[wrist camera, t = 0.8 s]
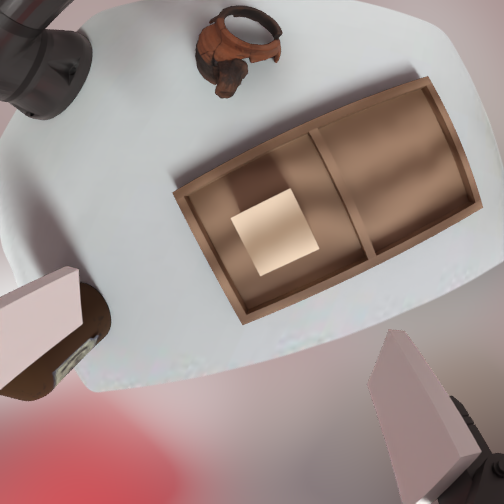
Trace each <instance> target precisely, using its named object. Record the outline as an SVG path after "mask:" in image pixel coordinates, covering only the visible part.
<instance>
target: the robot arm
mask: <svg viewBox="0 0 504 504" xmlns="http://www.w3.org/2000/svg"><path fill="white" fill-rule="evenodd" d="M73 1H74V0H0V101H4V102H9V103H10V104H12V105H13V106H14V107H16V108H17V109H18V110H20V111H21V112H22V113H24V114H25V115H26V116H28V117H30V118H33V119H39V120H48V119H51V118H54V117H55V116H57V115H59V114H60V113H61V112H63V111H64V110H65V109H66V108H67V107H68V106H69V105H70V104H71V102H72V101H73V100H74V99H75V97H76V96H77V94H78V93H79V91H80V90H81V88H82V86H83V84H84V82H85V80H86V78H87V75H88V72H89V69H90V66H91V61H92V48H91V44H90V42H89V41H88V39H87V38H85V37H84V36H82V35H81V34H79V33H77V32H74V31H65V30H50V29H49V30H48V29H45V28H46V27H47V26H48V25H49V24H50V23H51V22H52V21H53V20H54V19H55V18H56V17H57V16H58V15H59V14H60V13H61V12H62V11H63V10H64V9H65V8H66V7H67V6H68V5H69V4H70V3H72V2H73ZM82 324H83V321H82V311H81V300H80V286H79V269H76V268H73V267H69V266H65V267H63V268H61V269H59V270H56V271H54V272H52V273H50V274H47V275H45V276H43V277H41V278H39V279H37V280H34V281H32V282H30V283H28V284H26V285H24V286H22V287H20V288H18V289H16V290H14V291H12V292H9V293H8V294H5V295H3V296H1V297H0V390H1V389H2V388H3V387H4V386H5V385H7V384H8V383H9V382H10V381H11V380H13V379H14V378H15V377H16V376H17V375H19V374H20V373H21V372H22V371H23V370H25V369H26V368H27V367H28V366H30V365H31V364H32V363H33V362H35V361H36V360H37V359H38V358H40V357H41V356H42V355H43V354H45V353H46V352H47V351H48V350H50V349H51V348H52V347H53V346H55V345H56V344H57V343H59V342H60V341H61V340H62V339H64V338H65V337H66V336H68V335H69V334H70V333H72V332H73V331H74V330H75V329H77V328H78V327H79V326H81V325H82ZM367 386H368V389H369V392H370V395H371V398H372V401H373V404H374V407H375V410H376V413H377V416H378V419H379V423H380V426H381V429H382V432H383V436H384V439H385V442H386V446H387V449H388V453H389V456H390V459H391V463H392V467H393V470H394V474H395V478H396V482H397V485H398V489H399V493H400V497H401V501H402V504H432V503H433V502H434V501H435V500H436V499H438V502H439V504H504V454H501V453H495V454H492V452H491V451H490V449H489V447H488V445H487V444H486V442H485V440H484V439H483V437H482V435H481V434H480V432H479V430H478V428H477V427H476V426H475V425H474V422H473V420H472V419H471V417H469V414H468V412H467V411H466V409H465V408H464V406H463V405H462V404H461V403H460V402H459V401H458V400H457V399H456V398H454V397H453V396H449V395H448V394H447V392H446V390H445V389H444V388H443V386H442V384H441V383H440V381H439V380H438V378H437V377H436V375H435V374H434V372H433V371H432V369H431V368H430V366H429V365H428V363H427V362H426V360H425V359H424V357H423V356H422V354H421V353H420V352H419V350H418V349H417V347H416V346H415V344H414V343H413V342H412V340H411V339H410V337H409V336H408V335H407V333H406V332H405V331H401V330H391V329H389V330H388V333H387V335H386V338H385V341H384V343H383V346H382V349H381V351H380V354H379V356H378V359H377V361H376V364H375V366H374V369H373V371H372V373H371V376H370V378H369V380H368V383H367Z"/></svg>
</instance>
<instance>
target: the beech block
mask: <svg viewBox="0 0 504 504" xmlns="http://www.w3.org/2000/svg"><path fill="white" fill-rule="evenodd" d="M231 220H232V222H233V224H234V226H235V228H236V230H237V232H238V234H239V236H240V238H241V240H242V242H243V244H244V246H245V247H246V249H247V251H248V253H249V255H250V257H251V259H252V261H253V263H254V265H255V267H256V269H257V271H258V273H259V275H260V276H262V275H264V274H266V273H269V272H271V271H273V270H275V269H277V268H279V267H282V266H284V265H286V264H288V263H290V262H292V261H295V260H297V259H299V258H301V257H303V256H305V255H308V254H310V253H312V252H314V251H316V250H318V249H319V247H318V245H317V242H316V240H315V238H314V236H313V234H312V232H311V229H310V227H309V225H308V223H307V221H306V219H305V217H304V215H303V213H302V211H301V209H300V207H299V205H298V203H297V200H296V198H295V196H294V194H293V192H292V190H291V188H290V189H288V190H286V191H284V192H281V193H279V194H277V195H275V196H273V197H271V198H269V199H267V200H265V201H263V202H261V203H259V204H257V205H255V206H253V207H251V208H249V209H247V210H245V211H243V212H241V213H239V214H238V215H236V216H234V217H232V218H231Z"/></svg>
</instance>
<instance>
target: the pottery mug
mask: <svg viewBox="0 0 504 504" xmlns="http://www.w3.org/2000/svg"><path fill="white" fill-rule="evenodd" d="M229 15H233V16H234V17H247V18H249V19H252V20H254V21H257V22H259V23H260V24H261V25H262V26H263V27H265V28H266V29H267V30H268V31H269V32H270V33H271V34H272V36H273V37H274V40H273V41H272V42H271V43H269V44H264V45H258V44H250V43H247V42H245V41H242V40H240V39H239V38H237V37H235V36H234V35H233V34H231V33H230V32H229V31H228V29H227V28H226V26H225V23H224V19H225V18H226V17H227V16H229ZM213 22H215V24H212V25H210V26H207V27H206V28H204V29H203V30H202V32H201V33H200V35H199V41H198V42H197V44H196V55H195V57H196V61H197V68H198V70H199V72H200V74H201V75H202V76H203V77H204V78H205V79H206V80H207V81H209V82H210V83H212V84H214V85H216V84H217V86H216V89H215V94H216V95H218V96H219V97H220V98H229V97H232V96H233V95H234V93H235V92H236V90H237V87H238V86H239V85H240V84H241V81H242V79H244V78H245V76H246V75H247V74H248V65H247V63H246V62H245V61H243V60H242V59H244V58H249V60H250V62H251V63H254V62H258V61H263V60H266V59H268V58H271V57H274V62H275V63H277V62H278V60H279V57H280V54H281V46H280V40H279V37H280V36H281V35H282V30H281V28H280V26H279V25H278V24H277V22H276V21H275V20H274V19H273V18H271V17H270V16H269V15H267V14H266V13H264V12H262V11H260V10H258V9H255V8H252V7H248V6H230V7H227V8H225V9H223V10H222V11H221V12H220V13H219V15H218V16H216V17H214V18H213V19H211V20H210V22H209V23H210V24H211V23H213ZM214 59H215V60H216V61H217V62H218V64H217V66H214Z"/></svg>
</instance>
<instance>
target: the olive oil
mask: <svg viewBox="0 0 504 504" xmlns="http://www.w3.org/2000/svg"><path fill="white" fill-rule="evenodd" d="M79 286H80V300H81V311H82V321H83V324H82V325H81V326H79V327H78V328H77V329H75V330H74V331H73V332H72V333H70V334H69V335H68V336H66V337H65V338H64V339H62V340H61V341H60V342H59V343H57V344H56V345H55V346H53V347H52V348H51V349H50V350H48V351H47V352H46V353H45V354H43V355H42V356H41V357H40V358H38V359H37V360H36V361H35V362H33V363H32V364H31V365H30V366H28V367H27V368H26V369H25V370H23V371H22V372H21V373H20V374H19V375H17V376H16V377H15V378H14V379H13V380H11V381H10V382H9V383H8V384H7V385H5V386H4V387H3V388H2V389H1V390H0V395H3V396H7V397H11V398H14V399H18V400H23V401H34V400H37V399H40V398H42V397H44V396H46V395H47V394H49V393H50V392H51V391H52V390H53V389H54V388H55V387H56V386H57V385H58V384H59V383H60V381H61V380H62V379H63V378H64V377H65V376H66V375H67V374H68V373H69V372H70V371H71V370H72V369H73V368H74V367H75V366H76V365H77V364H78V363H79V362H80V361H81V360H82V359H83V358H84V357H85V356H86V355H87V354H88V353H89V352H90V351H91V350H92V349H93V348H94V347H95V346H96V345H97V344H98V343H99V342H100V341H101V340H102V339H103V338H104V337H105V336H106V335H107V334H108V332H109V330H110V327H111V316H110V312H109V309H108V306H107V304H106V302H105V300H104V299H103V297H102V296H101V295H100V293H99V292H98V291H97V290H96V289H94V288H93V287H92V286H90V285H88V284H85V283H79Z"/></svg>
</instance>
